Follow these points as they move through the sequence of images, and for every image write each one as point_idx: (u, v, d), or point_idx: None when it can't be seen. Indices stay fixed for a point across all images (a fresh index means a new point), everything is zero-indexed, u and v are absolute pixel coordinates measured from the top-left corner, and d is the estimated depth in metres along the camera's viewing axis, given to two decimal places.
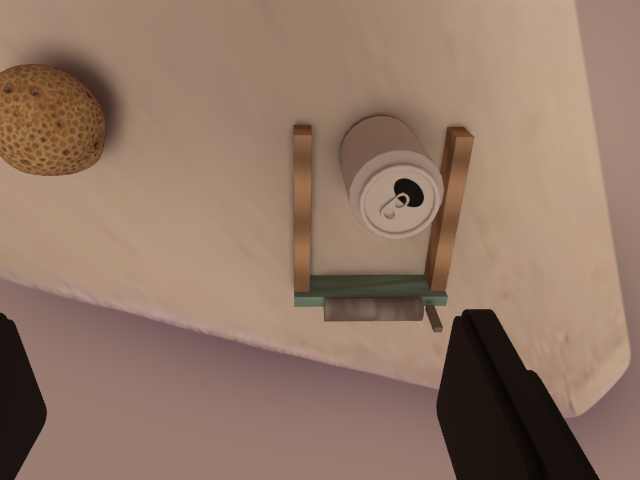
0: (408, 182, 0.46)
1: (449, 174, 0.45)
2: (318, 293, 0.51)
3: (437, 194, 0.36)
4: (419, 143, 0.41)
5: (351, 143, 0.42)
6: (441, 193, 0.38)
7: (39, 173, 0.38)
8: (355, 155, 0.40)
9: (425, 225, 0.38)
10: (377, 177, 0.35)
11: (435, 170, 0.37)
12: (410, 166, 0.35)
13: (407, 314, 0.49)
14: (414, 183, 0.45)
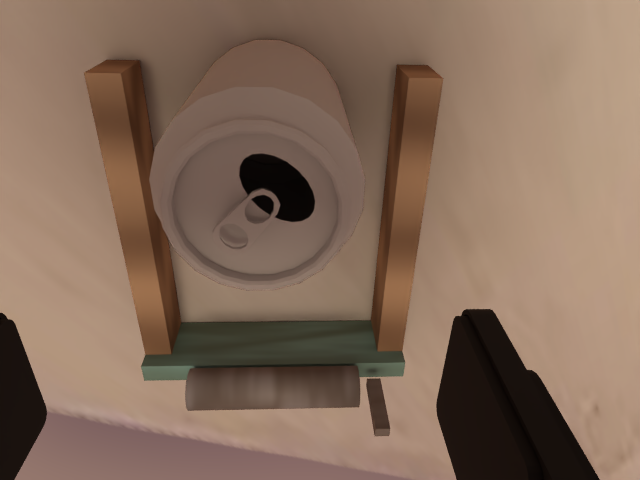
0: None
1: (399, 152, 0.24)
2: (185, 357, 0.30)
3: (342, 192, 0.15)
4: (325, 84, 0.19)
5: None
6: (359, 189, 0.17)
7: None
8: None
9: (322, 262, 0.17)
10: (188, 151, 0.14)
11: (339, 135, 0.16)
12: (267, 123, 0.14)
13: (331, 399, 0.28)
14: None
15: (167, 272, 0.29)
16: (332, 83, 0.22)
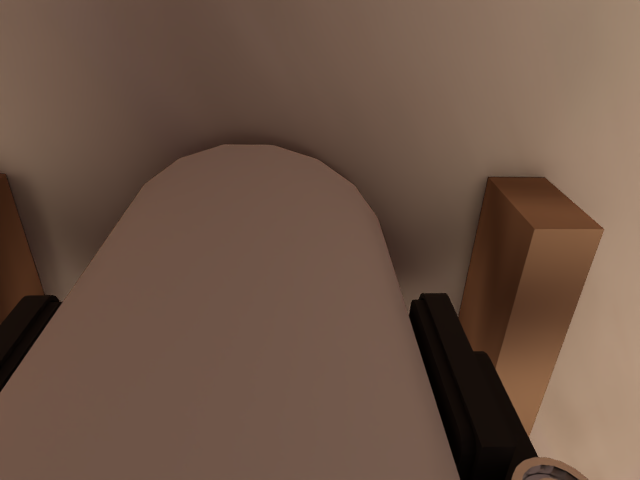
0: None
1: (497, 348, 0.13)
2: None
3: None
4: (374, 295, 0.08)
5: None
6: None
7: None
8: None
9: None
10: None
11: None
12: None
13: None
14: None
15: None
16: (377, 241, 0.11)
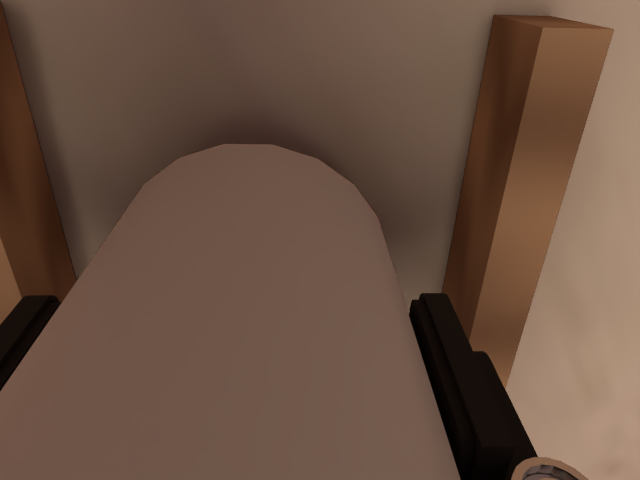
0: None
1: (503, 182, 0.12)
2: None
3: None
4: (375, 294, 0.08)
5: None
6: None
7: None
8: None
9: None
10: None
11: None
12: None
13: None
14: None
15: None
16: (377, 241, 0.11)
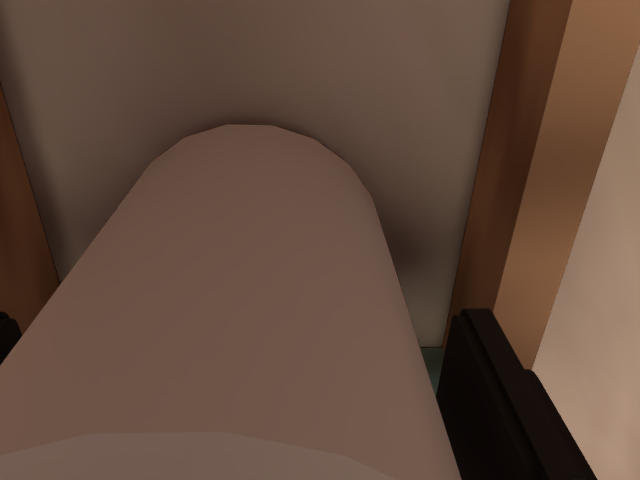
0: None
1: None
2: None
3: None
4: (366, 255, 0.09)
5: None
6: None
7: None
8: None
9: None
10: None
11: None
12: None
13: None
14: None
15: (27, 248, 0.14)
16: (370, 214, 0.12)
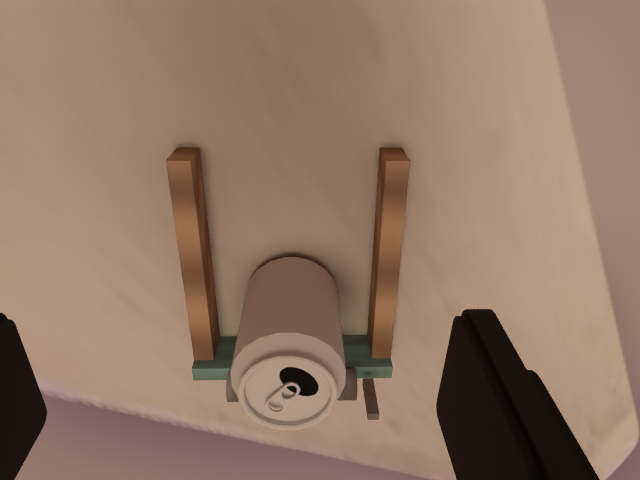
0: None
1: (382, 210, 0.34)
2: (224, 362, 0.39)
3: (332, 385, 0.30)
4: (325, 302, 0.34)
5: (249, 296, 0.36)
6: (342, 377, 0.31)
7: None
8: (245, 321, 0.33)
9: (322, 417, 0.31)
10: (255, 369, 0.29)
11: (331, 353, 0.30)
12: (294, 357, 0.29)
13: None
14: None
15: (212, 297, 0.39)
16: (330, 288, 0.37)
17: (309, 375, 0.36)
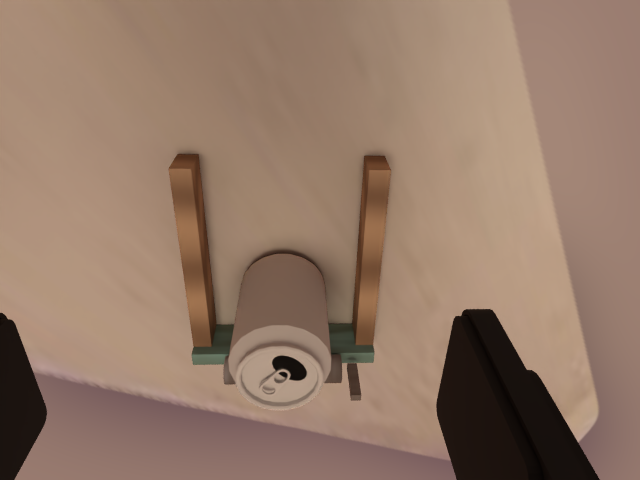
0: None
1: (365, 213, 0.37)
2: (221, 349, 0.43)
3: (319, 371, 0.33)
4: (313, 296, 0.38)
5: (244, 290, 0.39)
6: (328, 363, 0.35)
7: None
8: (241, 313, 0.37)
9: (310, 398, 0.35)
10: (250, 358, 0.32)
11: (318, 343, 0.34)
12: (285, 347, 0.32)
13: None
14: None
15: (210, 289, 0.43)
16: (318, 282, 0.40)
17: (298, 361, 0.40)
